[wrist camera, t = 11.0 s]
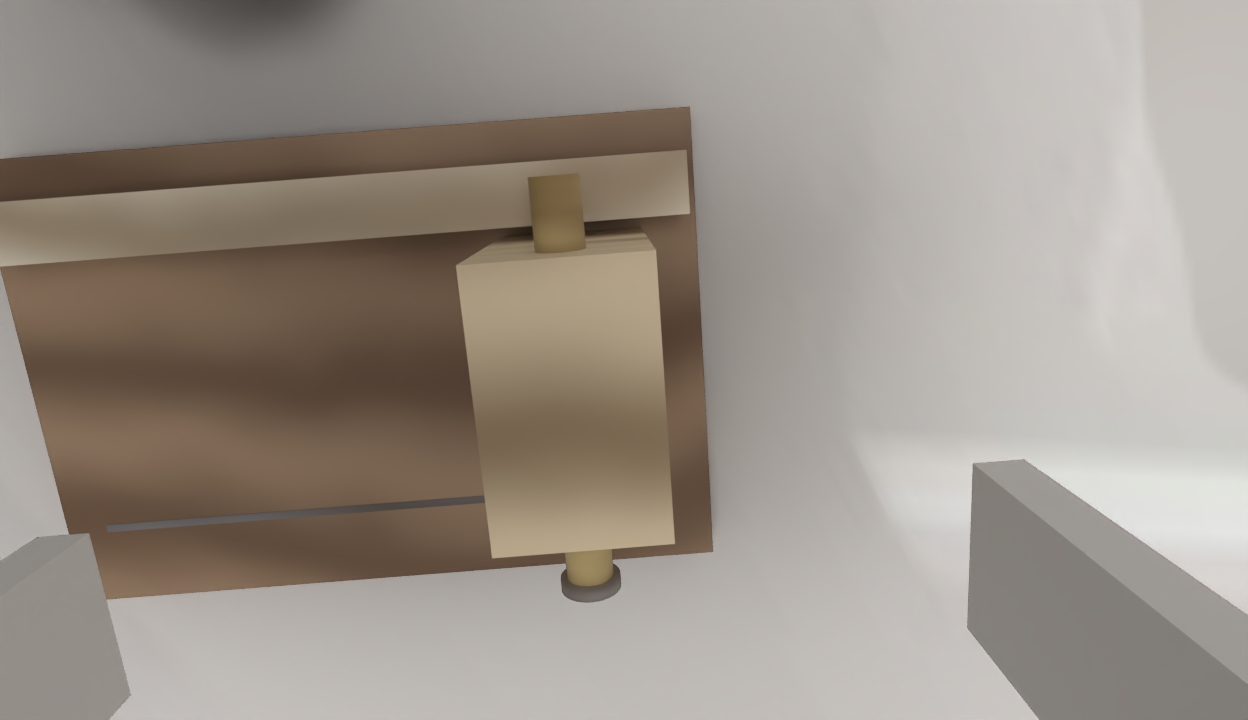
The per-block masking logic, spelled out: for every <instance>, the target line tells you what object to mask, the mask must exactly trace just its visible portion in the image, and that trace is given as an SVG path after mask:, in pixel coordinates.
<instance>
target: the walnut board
mask: <svg viewBox="0 0 1248 720" xmlns="http://www.w3.org/2000/svg"><path fill="white" fill-rule="evenodd" d="M577 173H580V183H581V195H582V207H583V219H584V230H598V229H611V228H624V227H637V226H641V228H642V229H643V231H644V232H645V234H646V235H647V237H648V238H649V240H650V242H651V243H652V245H653V246H654V248H655V249H656V256H657V272H658V287H659V303H660V319H661V334H662V350H663V365H664V381H665V396H666V412H667V427H668V443H669V458H670V474H671V489H672V505H673V521H674V536H675V544H669V545H656V546H643V547H631V548H618V549H612V560H614V559H627V558H639V557H652V556H665V555H678V554H690V553H703V552H713V541H712V522H711V503H710V484H709V465H708V445H707V426H706V407H705V388H704V369H703V350H702V330H701V311H700V292H699V273H698V254H697V235H696V215H695V196H694V177H693V158H692V139H691V120H690V107H680V108H666V109H653V110H640V111H627V112H614V113H600V114H587V115H574V116H561V117H548V118H535V119H521V120H508V121H495V122H482V123H469V124H456V125H442V126H429V127H416V128H403V129H390V130H376V131H363V132H350V133H337V134H324V135H311V136H297V137H284V138H271V139H258V140H245V141H232V142H218V143H205V144H192V145H179V146H166V147H152V148H139V149H126V150H113V151H100V152H87V153H73V154H60V155H47V156H34V157H21V158H8V159H0V269H1V273H2V277H3V281H4V285H5V289H6V293H7V296H8V300H9V304H10V308H11V312H12V316H13V320H14V323H15V327H16V331H17V335H18V339H19V343H20V347H21V350H22V354H23V358H24V362H25V366H26V370H27V374H28V377H29V381H30V385H31V389H32V393H33V397H34V401H35V404H36V408H37V412H38V416H39V420H40V424H41V428H42V431H43V435H44V439H45V443H46V447H47V451H48V455H49V458H50V462H51V466H52V470H53V474H54V478H55V482H56V485H57V489H58V493H59V497H60V501H61V505H62V509H63V512H64V516H65V520H66V524H67V528H68V532H69V535H72V534H84V533H89V535H90V539H91V542H92V546H93V550H94V554H95V558H96V562H97V566H98V570H99V573H100V577H101V581H102V585H103V589H104V593H105V597H106V599H118V598H131V597H143V596H156V595H169V594H182V593H194V592H207V591H220V590H232V589H245V588H258V587H271V586H283V585H296V584H309V583H321V582H334V581H347V580H360V579H372V578H385V577H398V576H410V575H423V574H436V573H449V572H461V571H474V570H487V569H500V568H512V567H525V566H538V565H550V564H563V563H566V558H565V553H554V554H542V555H529V556H516V557H503V558H492V553H491V545H490V537H489V529H488V521H487V513H486V505H485V497H484V489H483V481H482V473H481V464H480V456H479V448H478V440H477V432H476V424H475V416H474V408H473V400H472V392H471V384H470V376H469V368H468V360H467V352H466V344H465V335H464V327H463V319H462V311H461V303H460V295H459V287H458V279H457V271H456V265H457V264H459V263H461V262H462V261H464V260H466V259H467V258H469V257H470V256H472V255H474V254H475V253H477V252H478V251H480V250H482V249H483V248H485V247H487V246H488V245H490V244H491V243H493V242H495V241H496V240H498V239H500V238H501V237H507V236H520V235H533V228H532V218H531V208H530V198H529V188H528V178H527V177H537V176H550V175H563V174H577Z"/></svg>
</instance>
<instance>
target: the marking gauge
mask: <svg viewBox="0 0 1248 720" xmlns="http://www.w3.org/2000/svg"><path fill="white" fill-rule="evenodd" d="M527 178H528V188H529V198H530V208H531V218H532V228H533V235H520V236H507V237H501V238H500V239H498V240H496V241H495V242H493V243H491V244H490V245H488V246H487V247H485V248H483V249H482V250H480V251H478V252H477V253H475V254H474V255H472V256H470V257H469V258H467V259H466V260H464V261H462V262H461V263H459V264H457V265H456V271H457V279H458V287H459V295H460V303H461V311H462V319H463V327H464V335H465V344H466V352H467V360H468V368H469V376H470V384H471V392H472V400H473V408H474V416H475V424H476V432H477V440H478V448H479V456H480V464H481V473H482V481H483V489H484V497H485V505H486V513H487V521H488V529H489V537H490V545H491V553H492V558H503V557H516V556H529V555H542V554H554V553H565V558H566V568H567V569H565V570H564V571H563V573H562V575H561V584H562V592H563V594H564V595H565V596H566V597H567V598H569V599H571V600H573V601H577V602H597V601H601V600H605V599H607V598H610V597H611V596H613V595H615V594H616V593H617V592H618V591H619V590H620V588H621V576H620V570H619V568H618V567H617V566H616V565H615V564H613V560H612V549H618V548H631V547H643V546H656V545H669V544H675V536H674V521H673V505H672V489H671V474H670V458H669V443H668V427H667V412H666V396H665V381H664V365H663V350H662V334H661V319H660V303H659V287H658V272H657V256H656V249H655V248H654V246H653V245H652V243H651V242H650V240H649V238H648V237H647V235H646V234H645V232H644V231H643V229H642V228H641V226H637V227H624V228H611V229H598V230H584V219H583V207H582V195H581V183H580V173H577V174H563V175H550V176H537V177H527Z"/></svg>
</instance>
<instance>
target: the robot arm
mask: <svg viewBox="0 0 1248 720" xmlns="http://www.w3.org/2000/svg"><path fill="white" fill-rule="evenodd" d="M967 628H968V630H969V631H970V632H971V633H972V635H973V636H974V637H975V638H976V640H977V641H978V642H979V644H980V645H981V646H982V647H983V649H984V650H985V651H986V652H987V654H988V655H989V656H990V657H991V659H992V660H993V661H994V663H995V664H996V665H997V666H998V668H999V669H1000V670H1001V671H1002V673H1003V674H1004V675H1005V677H1006V678H1007V679H1008V680H1009V682H1010V683H1011V684H1012V685H1013V687H1014V688H1015V689H1016V690H1017V692H1018V693H1019V694H1020V696H1021V697H1022V698H1023V699H1024V701H1025V702H1026V703H1027V704H1028V706H1029V707H1030V708H1031V709H1032V711H1033V712H1034V713H1035V715H1036V716H1037V717H1038V718H1039V720H1248V615H1247V614H1245V613H1244V612H1243V611H1241V610H1240V609H1238V608H1237V607H1235V606H1234V605H1233V604H1231V603H1230V602H1228V601H1227V600H1225V599H1224V598H1222V597H1221V596H1220V595H1218V594H1217V593H1215V592H1214V591H1212V590H1211V589H1210V588H1208V587H1207V586H1205V585H1204V584H1202V583H1201V582H1199V581H1198V580H1197V579H1195V578H1194V577H1192V576H1191V575H1189V574H1188V573H1187V572H1185V571H1184V570H1182V569H1181V568H1179V567H1178V566H1176V565H1175V564H1174V563H1172V562H1171V561H1169V560H1168V559H1166V558H1165V557H1164V556H1162V555H1161V554H1159V553H1158V552H1156V551H1155V550H1153V549H1152V548H1151V547H1149V546H1148V545H1146V544H1145V543H1143V542H1142V541H1141V540H1139V539H1138V538H1136V537H1135V536H1133V535H1132V534H1130V533H1129V532H1128V531H1126V530H1125V529H1123V528H1122V527H1120V526H1119V525H1118V524H1116V523H1115V522H1113V521H1112V520H1110V519H1109V518H1107V517H1106V516H1105V515H1103V514H1102V513H1100V512H1099V511H1097V510H1096V509H1095V508H1093V507H1092V506H1090V505H1089V504H1087V503H1086V502H1084V501H1083V500H1082V499H1080V498H1079V497H1077V496H1076V495H1074V494H1073V493H1072V492H1070V491H1069V490H1067V489H1066V488H1064V487H1063V486H1061V485H1060V484H1059V483H1057V482H1056V481H1054V480H1053V479H1051V478H1050V477H1049V476H1047V475H1046V474H1044V473H1043V472H1041V471H1040V470H1038V469H1037V468H1036V467H1034V466H1033V465H1031V464H1030V463H1028V462H1027V461H1026V460H1011V461H999V462H986V463H973V475H972V504H971V533H970V562H969V592H968V621H967ZM130 695H131V694H130V690H129V686H128V682H127V678H126V674H125V670H124V666H123V663H122V659H121V655H120V651H119V647H118V643H117V639H116V635H115V632H114V628H113V624H112V620H111V616H110V612H109V608H108V604H107V601H106V597H105V593H104V589H103V585H102V581H101V577H100V573H99V570H98V566H97V562H96V558H95V554H94V550H93V546H92V542H91V539H90V535H89V533H84V534H72V535H59V536H46V537H37V538H35V539H34V540H32V541H31V542H29V543H28V544H26V545H24V546H23V547H21V548H20V549H18V550H17V551H15V552H14V553H12V554H11V555H9V556H8V557H6V558H4V559H3V560H1V561H0V720H109V719H110V718H111V716H112V715H113V714H114V713H115V712H116V711H117V710H118V709H119V708H120V706H121V705H122V704H123V703H124V702H125V701H126V700H127V699H128V698H129V696H130Z"/></svg>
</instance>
